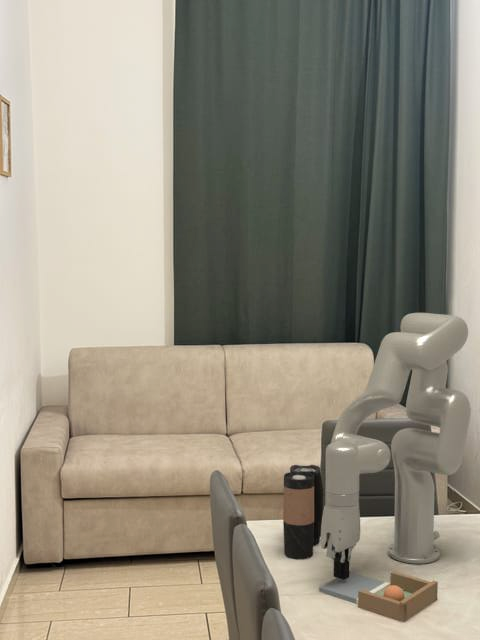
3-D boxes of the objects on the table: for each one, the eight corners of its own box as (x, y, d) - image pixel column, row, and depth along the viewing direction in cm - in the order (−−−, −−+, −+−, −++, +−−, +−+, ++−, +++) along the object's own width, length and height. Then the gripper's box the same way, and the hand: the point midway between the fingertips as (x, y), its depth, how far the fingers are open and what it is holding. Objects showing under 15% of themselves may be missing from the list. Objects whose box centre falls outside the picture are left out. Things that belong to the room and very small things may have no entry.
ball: (395, 606, 183) (383, 588, 184) (411, 596, 181) (398, 578, 182) (389, 613, 179) (376, 595, 180) (404, 603, 177) (391, 585, 179)
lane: (352, 573, 199) (352, 557, 199) (437, 599, 185) (437, 581, 184) (315, 593, 188) (316, 575, 188) (403, 622, 174) (403, 603, 174)
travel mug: (305, 562, 206) (305, 481, 204) (277, 555, 210) (277, 476, 208) (319, 552, 213) (319, 474, 211) (292, 546, 217) (292, 469, 215)
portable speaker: (280, 539, 222) (280, 466, 220) (310, 533, 226) (311, 461, 224) (298, 550, 214) (299, 474, 212) (329, 543, 219) (329, 469, 217)
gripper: (345, 487, 199) (345, 563, 200) (309, 502, 187) (308, 583, 189) (373, 493, 194) (372, 571, 196) (337, 509, 182) (337, 592, 184)
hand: (341, 577), depth 192 cm, fingers closed
